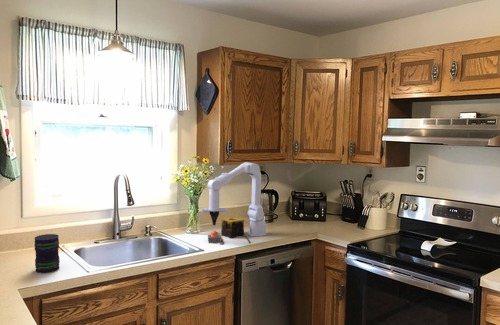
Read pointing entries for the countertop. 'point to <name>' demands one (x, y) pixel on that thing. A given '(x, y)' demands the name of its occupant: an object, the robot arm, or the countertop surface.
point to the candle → (232, 227)
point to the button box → (214, 239)
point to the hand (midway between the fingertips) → (214, 224)
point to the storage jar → (47, 253)
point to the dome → (214, 234)
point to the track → (223, 242)
